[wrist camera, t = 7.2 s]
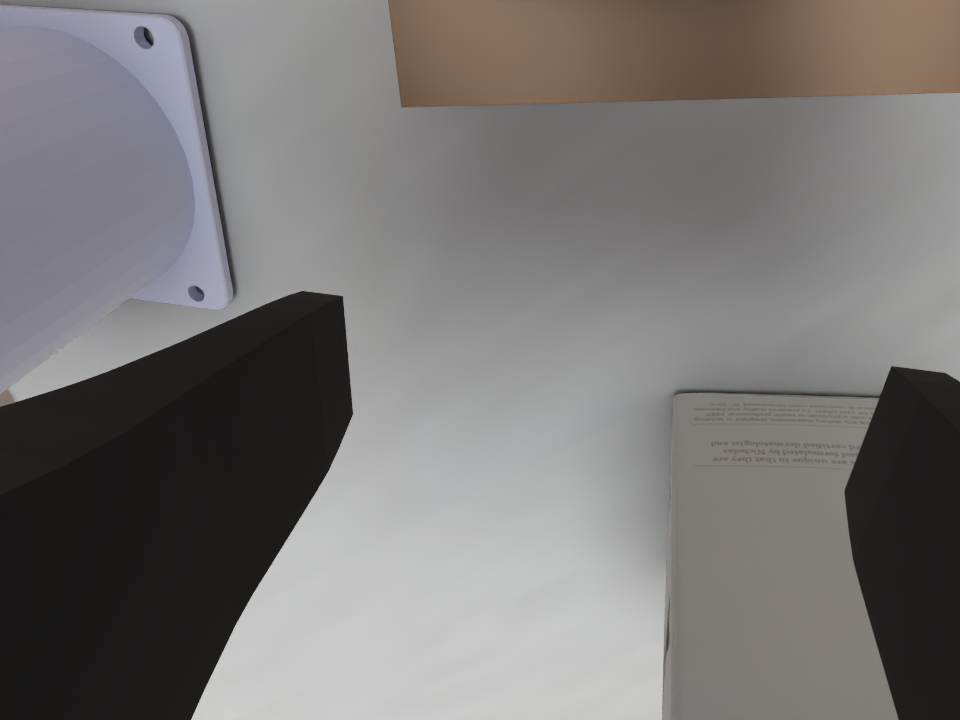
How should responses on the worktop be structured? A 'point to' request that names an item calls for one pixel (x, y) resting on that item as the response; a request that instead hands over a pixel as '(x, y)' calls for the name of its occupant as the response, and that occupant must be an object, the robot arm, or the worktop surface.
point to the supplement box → (766, 563)
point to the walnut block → (670, 49)
